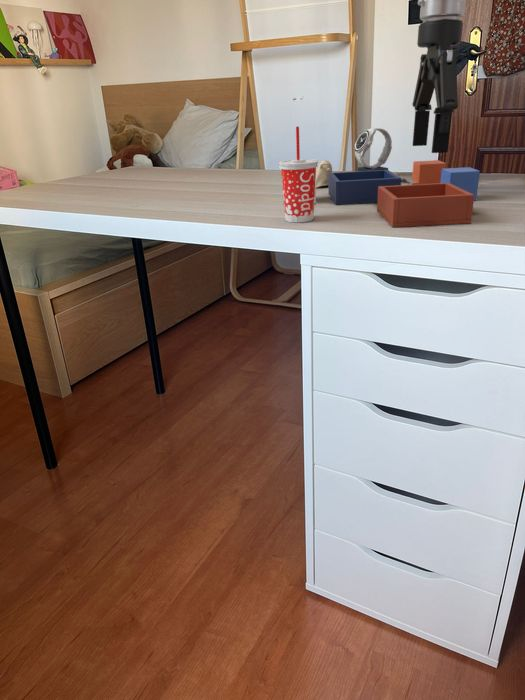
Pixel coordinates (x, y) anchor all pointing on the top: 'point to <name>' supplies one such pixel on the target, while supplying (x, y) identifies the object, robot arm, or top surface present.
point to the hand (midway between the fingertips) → (428, 149)
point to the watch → (364, 144)
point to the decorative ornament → (323, 173)
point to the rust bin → (424, 204)
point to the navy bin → (359, 185)
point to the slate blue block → (462, 178)
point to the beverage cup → (298, 186)
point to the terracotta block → (427, 171)
